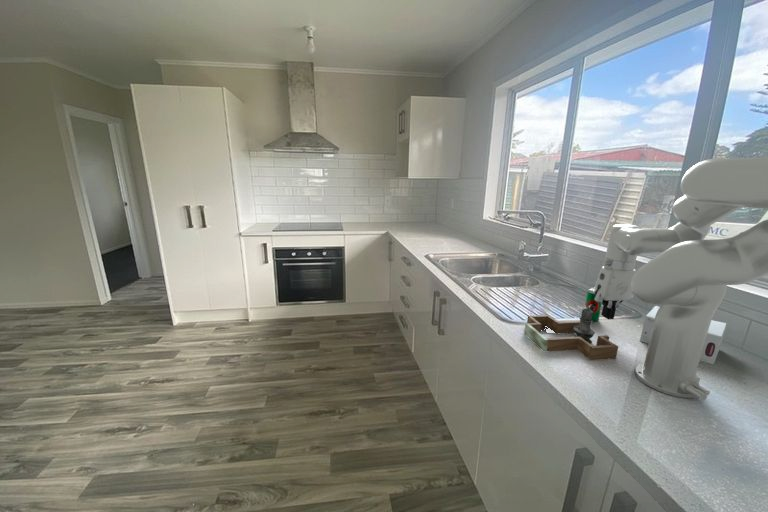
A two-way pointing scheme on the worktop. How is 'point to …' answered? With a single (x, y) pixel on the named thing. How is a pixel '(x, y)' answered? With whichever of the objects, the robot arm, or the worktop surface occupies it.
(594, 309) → the soda can
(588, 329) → the stone chess piece
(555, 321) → the wooden zigzag wall frame
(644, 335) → the supplement box
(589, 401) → the worktop surface
